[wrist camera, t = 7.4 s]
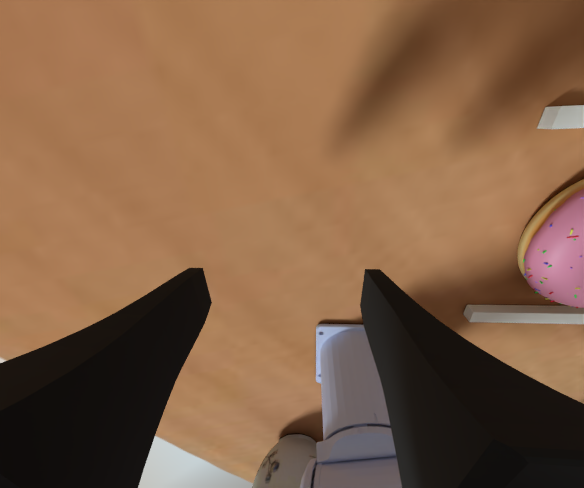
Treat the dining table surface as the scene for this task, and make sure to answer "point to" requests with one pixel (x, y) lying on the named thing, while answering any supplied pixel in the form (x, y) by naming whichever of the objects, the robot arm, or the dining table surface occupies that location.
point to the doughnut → (556, 248)
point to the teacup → (286, 462)
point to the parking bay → (536, 313)
